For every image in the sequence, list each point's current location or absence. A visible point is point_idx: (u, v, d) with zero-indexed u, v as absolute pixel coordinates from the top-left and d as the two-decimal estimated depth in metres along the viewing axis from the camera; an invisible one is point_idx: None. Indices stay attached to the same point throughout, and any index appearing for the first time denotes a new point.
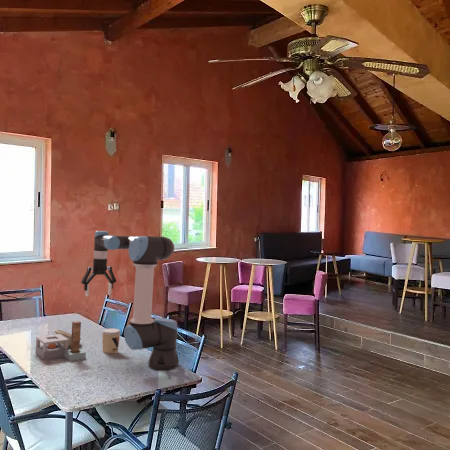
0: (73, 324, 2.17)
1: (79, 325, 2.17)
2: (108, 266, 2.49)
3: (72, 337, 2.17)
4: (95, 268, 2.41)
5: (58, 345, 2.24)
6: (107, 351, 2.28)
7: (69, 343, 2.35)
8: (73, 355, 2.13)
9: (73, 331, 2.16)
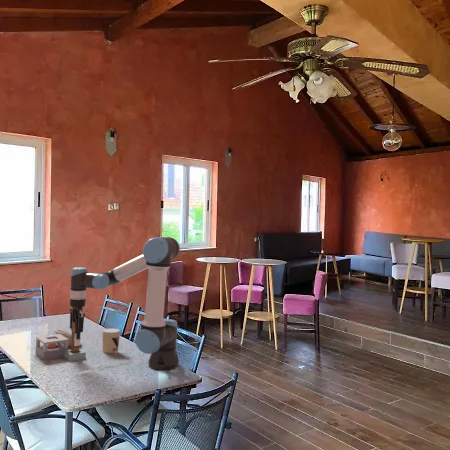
0: (73, 324, 2.17)
1: None
2: (84, 313, 2.14)
3: (72, 337, 2.17)
4: (72, 308, 2.19)
5: (58, 345, 2.24)
6: (107, 351, 2.28)
7: (69, 343, 2.35)
8: (73, 355, 2.13)
9: (73, 331, 2.16)
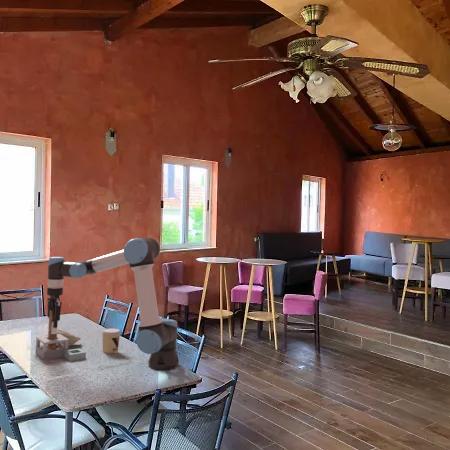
0: (50, 313, 2.19)
1: None
2: None
3: (49, 325, 2.19)
4: (50, 297, 2.22)
5: (58, 345, 2.24)
6: (107, 351, 2.28)
7: (69, 343, 2.35)
8: (73, 355, 2.13)
9: (50, 319, 2.19)
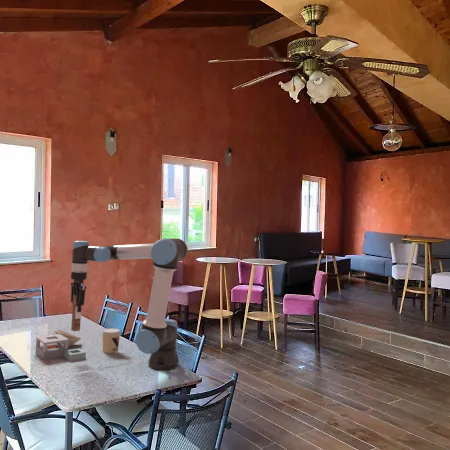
0: (74, 297, 2.17)
1: None
2: None
3: (73, 310, 2.17)
4: None
5: (58, 345, 2.24)
6: (107, 351, 2.28)
7: (69, 343, 2.35)
8: (73, 355, 2.13)
9: (74, 304, 2.16)
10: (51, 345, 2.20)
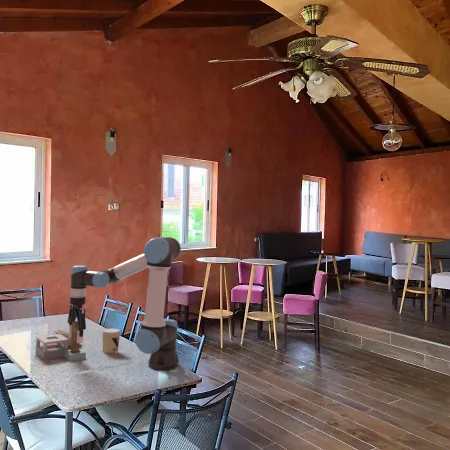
0: (73, 324, 2.17)
1: None
2: (84, 309, 2.14)
3: (72, 337, 2.17)
4: (72, 306, 2.19)
5: (58, 345, 2.24)
6: (107, 351, 2.28)
7: (69, 343, 2.35)
8: (73, 355, 2.13)
9: (73, 331, 2.16)
10: (51, 345, 2.20)
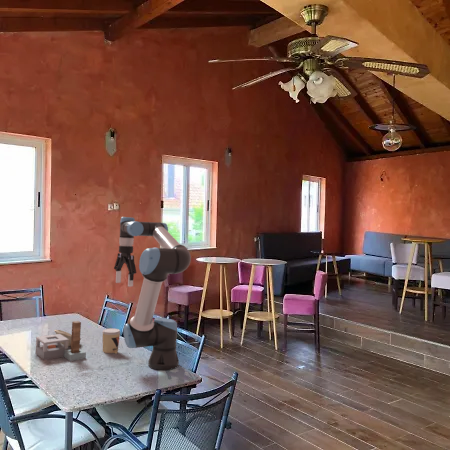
0: (73, 324, 2.17)
1: (79, 325, 2.17)
2: None
3: (72, 337, 2.17)
4: (121, 255, 2.35)
5: (58, 345, 2.24)
6: (107, 351, 2.28)
7: (69, 343, 2.35)
8: (73, 355, 2.13)
9: (73, 331, 2.16)
10: (51, 345, 2.20)
